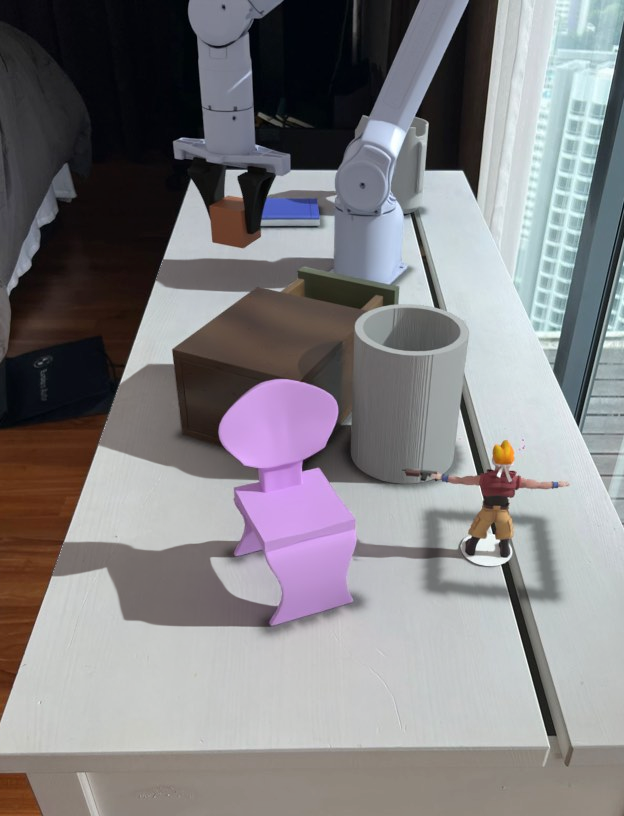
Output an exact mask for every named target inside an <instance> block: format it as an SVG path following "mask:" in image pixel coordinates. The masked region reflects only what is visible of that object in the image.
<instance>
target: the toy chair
mask: <svg viewBox="0 0 624 816" xmlns="http://www.w3.org/2000/svg"><path fill="white" fill-rule="evenodd" d="M337 417H338V405H337V402H336V400H335V399H334V397H333V396H332V395H331V394H329V393H328V392H326V391H325V390H322V389H320V388H318V387H316V386H313V385H310V384H307V383H303V382H299V381H294V380H288V379H275V380H270V381H265V382H262V383H260V384H258V385H256V386H254V387H253V388H251V389H250V390H249V391H247V392H246V393H245V394H244V395H242V396H241V397H240V398H239V399H238V400H237V401H236V402H235V403H234V404H233V405H232V406H231V407H230V409H229V410H228V411H227V412H226V414H225V415H224V416H223V418H222V420H221V422H220V425H219V431H218V434H219V439H220V441H221V443H222V445H223V446H224V447H223V448H224V449H225V450H226V451H227V452H228V453H230V455H232V456H233V457H234V458H235V459H237V460H238V461H239V462H240V463H241V464H242V466H244V467H249V468H256V469H257V473H258V474H257V475H258V482H257V481H256V482H251V483H248V484H243V485H238V486H234V487H233V496H234V497H233V503H234V505H235V507H236V509H237V510H238V512H239V513H240V514H241V516H242V518H243V523H244V529H243V533H242V536H241V538H240V540H239V542H238V544H237V546H236V548H235V549H234V552H233V555H234V557H239V556H243V555H247V554H251V553H255V552H258V551H262V552H263V554H264V558H265V561H266V563H267V566H268V567H269V569H270V570H271V572H272V573H273V575H274V576H275V578H276V579H277V581H278V583H279V586H280V589H281V598H280V602H279V605H278V606H277V609H276V610H275V612H274V614H273V615H272V616H271V619H270V620H269V621H268V624H269V625H270V626H271V627H273V626H276V625H279V624H283V623H287V622H291V621H294V620H297V619H301V618H304V617H307V616H311V615H314V614H317V613H321V612H324V611H325V612H326V611H328V610H331V609H332V610H333V609H334V608H338V607H342V606H345V605H348V604H351V603H353V602H354V599H353V597H352V595H351V593H350V590H349V587H348V583H347V582H348V581H347V577H348V572H349V571H348V570H349V567H350V564H351V560H352V558H353V555H354V552H355V548H356V545H357V539H358V537H357V531H356V517H354V515H353V513H352V512H351V510H350V509H349V508H348V506H347V504H345V503H344V501H342V499H341V498H340V496H339V495H338V494H337V492H336V490H335V489H334V487H333V486H332V484H330V482H329V480H328V478H327V477H326V476H325V474H324V473H323V471H322V470H321V468H320V467H316V468H311V469H308V470H303V467H302V462H303V460H304V459H306V458H308V457H310V456H311V455H312V456H314V455H315V454H317V453H318V452H320V451H322V450H323V449H324V448H325V447H326V446H327V443H328V441H329V438H330V436H331V435H332V434H333V433H332V431H333V428H334V426H335V424H336V421H337ZM331 433H332V434H331Z"/></svg>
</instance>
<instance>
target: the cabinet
mask: <svg viewBox="0 0 624 816" xmlns="http://www.w3.org/2000/svg"><path fill="white" fill-rule="evenodd" d="M366 312H368V311H366V310H361V309H357V308H352V307H347V306H343V305H338V304H334V303H329V302H325V301H320V300H315V299H311V298H306V297H302V296H297V295H292V294H288V293H283V292H281V291H278V290H273V289H270V288H265V287H260V286H256V287H255V288H254V289H251V291H250V292H248V293H246V294H245V295H244V296H242V297H241V298H239V300H237V301H236V302H234V303H233V304H231V305H230V306H229V307H227V308H226V309H225V310H223V311H222V312H221V313H220V314H218V315H217V316H215V317H213V318H212V319H211V320H210V321H209V322H207V323H206V324H204V325H203V326H202V327H200V328H199V329H198V330H196V331H195V332H193V333H192V334H191V335H189V336H188V337H186V338H185V339H183V341H181V342H180V343H178V344H177V345H176V346H174V347H173V348H172V349H171V352H172V353H171V354H172V362H173V370H174V378H175V388H176V395H177V402H178V412H179V419H180V427H181V428H180V429H181V435H182V436H184V437H188V438H191V439H194V440H198V441H202V442H205V443H208V444H211V445H216V446H217V447H222V448H224V446H223V445H222V443H221V441H220V439H219V434H218V431H219V425H220V422H221V420H222V418H223V416H224V415H225V414H226V412H227V411H228V410H229V409H230V407H231V406H232V405H233V404H234V403H235V402H236V401H237V400H238V399H239V398H240V397H241V396H242V395H244V394H245V393H246V392H247V391H249V390H250V389H251V388H253V387H254V386H256V385H258V384H260V383H262V382H265V381H270V380H275V379H288V380H294V381H299V382H303V383H307V384H310V385H313V386H316V387H318V388H320V389H322V390H325V391H326V392H328V393H329V394H331V395H332V396H333V397H334V399H335V400H336V402H337V405H338V417H337V421H336V424H335V426H334V428H333V431H332V433H331V435H332V434H333V433H335V431H336V430H337V429H338V428H339V426H340V425H342V423H343V422H344V421H345V420H346V418H347V417H348V416H349V415H350V414H352V393H353V360H354V327H355V322H356V321H357V319H358V318H359V317H360V316H362V315H363V314H364V313H366ZM312 457H313V455H311V456H310V457H308V458H306V459H304V460H303V462H302V468H303V467H304V466H305V465H306V463H307V462H308V461H309V460H310V459H311V458H312Z"/></svg>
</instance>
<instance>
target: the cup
mask: <svg viewBox="0 0 624 816" xmlns="http://www.w3.org/2000/svg"><path fill="white" fill-rule="evenodd" d="M469 337H470V330H469V327H468V325H467V323H466V322H465V321H464V320H462V318H461V317H459V316H457V315H455V314H454V313H452V312H449V311H447V310H444V309H441V308H437V307H433V306H429V305H424V304H412V303H403V304H401V303H400V304H399V303H398V305H389V306H383V307H379V308H376V309H373V310H370V311H368V312H366V313H364V314H363V315H362V316H360V317H359V318H358V319H357V321H356V322H355V327H354V360H353V393H352V412H351V426H350V427H351V429H350V431H351V432H350V457H351V460H352V461H353V462H352V463H354V465H355V466H356V467H357V468H358V469H359V470H360V471H361V472H363V473H365V475H368V476H369V477H372V478H373V479H377V480H380V481H383V482H388V483H393V484H404V485H406V484H407V485H408V484H419V483H425V482H428V481H431V480H435V479H434V478H432V477H429V476H428V477H427V479H426V481H421V477H422V476H421V475H420V476H419V477H414V476H406V474H405V471H402V469H403V470H405V469H406V468H407V469H413V468H417V469H420V470H433V471H437V472H438V473H440V474H441V475H442V476H443V475H445V473H446V472H447V471H448V470H449V469H450V468H451V467H452V465H453V462H454V457H455V449H456V441H457V435H458V434H457V433H458V427H459V426H458V425H459V418H460V410H461V403H462V394H463V386H464V378H465V371H466V370H465V368H466V363H467V362H466V361H467V354H468V346H469Z"/></svg>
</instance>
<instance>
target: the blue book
mask: <svg viewBox="0 0 624 816" xmlns="http://www.w3.org/2000/svg"><path fill="white" fill-rule="evenodd" d="M320 222H321V221H320V211H319V203H318V198H317V197H308V198H307V197H305V198H304V197H267V199H266V202H265V206H264V210H263V214H262V220H261V226H260V227H320V226H321V225H320Z"/></svg>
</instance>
